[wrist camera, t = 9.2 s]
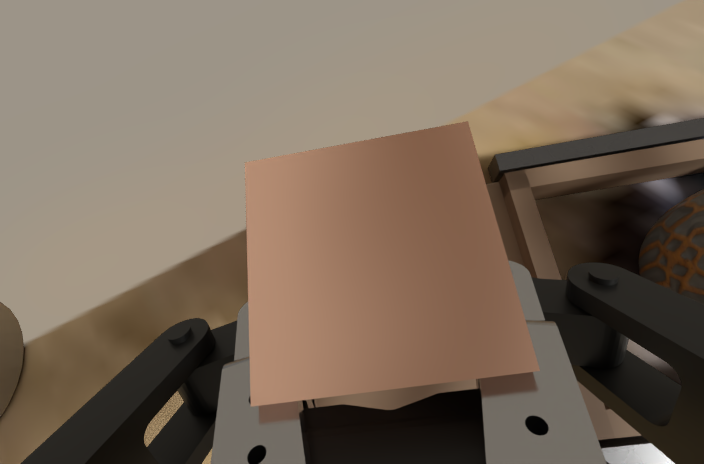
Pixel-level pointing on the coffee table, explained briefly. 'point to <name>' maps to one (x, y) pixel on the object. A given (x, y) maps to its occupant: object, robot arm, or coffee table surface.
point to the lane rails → (627, 452)
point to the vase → (677, 249)
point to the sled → (408, 266)
